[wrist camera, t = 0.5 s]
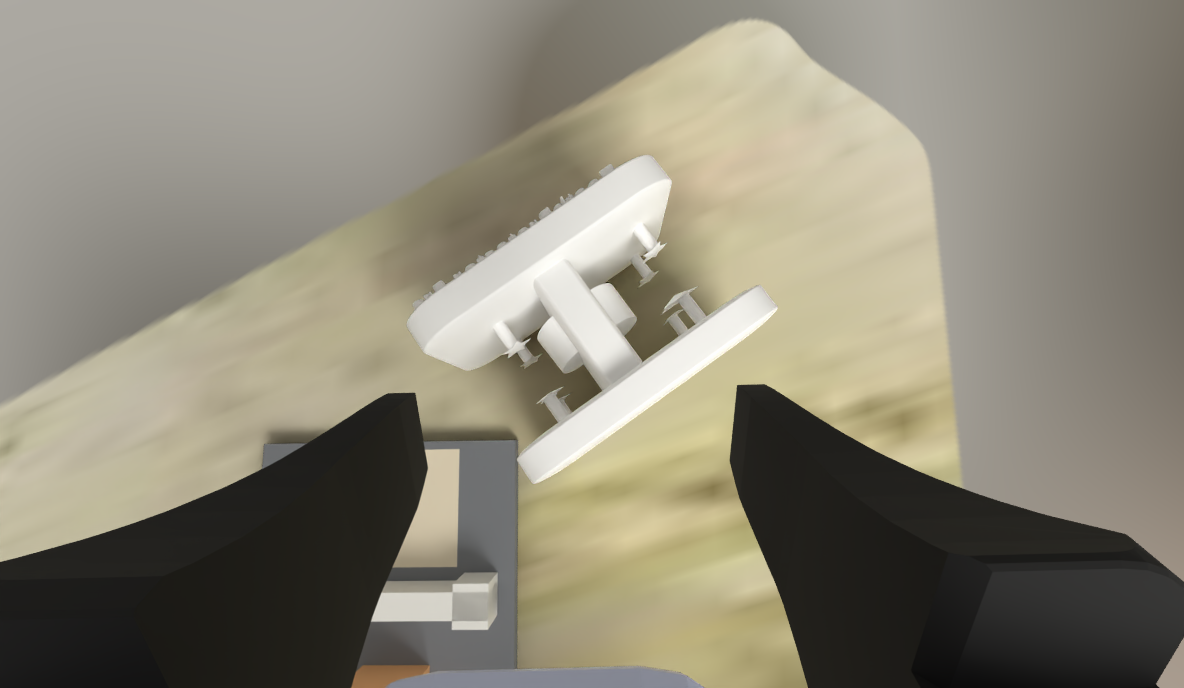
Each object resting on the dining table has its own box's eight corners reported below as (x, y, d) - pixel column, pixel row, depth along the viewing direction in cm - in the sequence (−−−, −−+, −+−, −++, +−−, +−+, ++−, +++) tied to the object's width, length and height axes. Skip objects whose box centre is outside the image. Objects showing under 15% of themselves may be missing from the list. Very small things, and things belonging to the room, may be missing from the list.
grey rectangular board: (516, 825, 32) (512, 838, 31) (245, 823, 33) (234, 835, 32) (518, 439, 35) (515, 440, 34) (273, 443, 36) (263, 444, 35)
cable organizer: (546, 481, 35) (513, 504, 24) (456, 347, 37) (384, 308, 25) (735, 344, 36) (792, 304, 24) (639, 220, 38) (650, 126, 26)
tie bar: (497, 614, 33) (487, 629, 30) (298, 615, 33) (273, 630, 31) (497, 572, 33) (488, 583, 31) (301, 573, 34) (276, 585, 31)
